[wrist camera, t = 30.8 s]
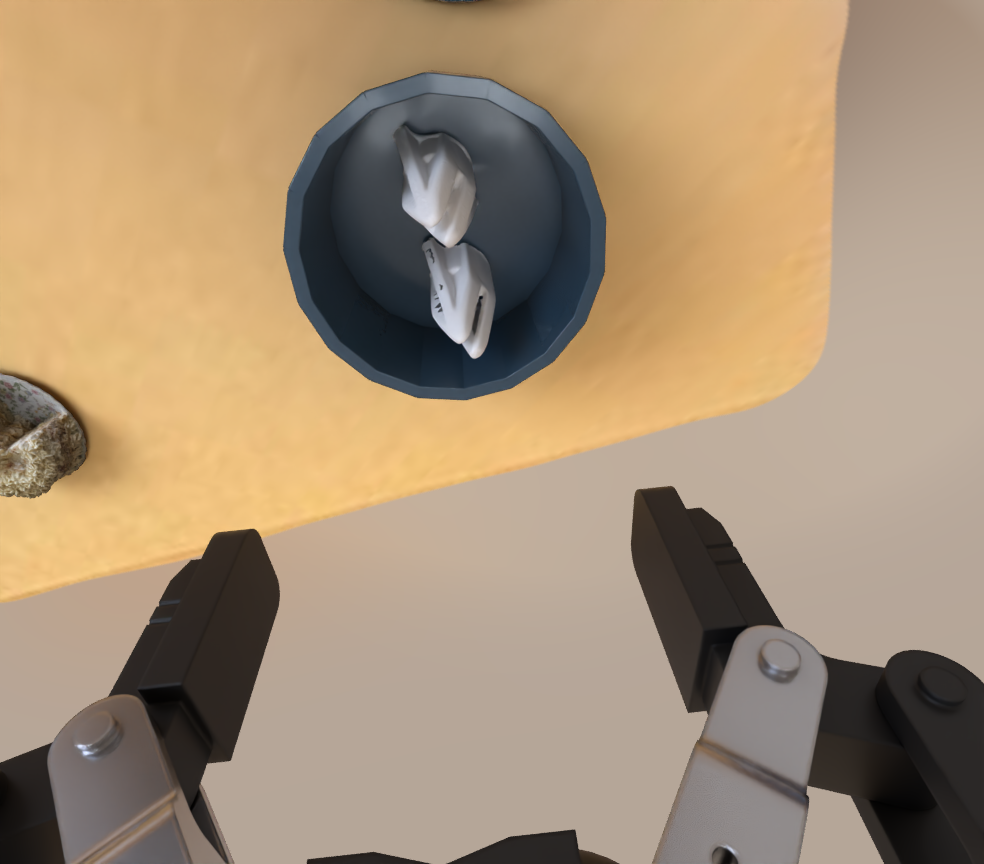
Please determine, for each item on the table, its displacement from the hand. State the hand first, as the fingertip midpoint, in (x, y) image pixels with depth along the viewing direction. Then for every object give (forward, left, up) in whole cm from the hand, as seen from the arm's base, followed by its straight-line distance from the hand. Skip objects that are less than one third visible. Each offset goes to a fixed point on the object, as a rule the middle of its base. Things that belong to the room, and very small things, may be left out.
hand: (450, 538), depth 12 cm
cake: (-34, -12, -30) cm, 47 cm away
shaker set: (0, 0, -30) cm, 30 cm away
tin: (0, 0, -30) cm, 30 cm away
